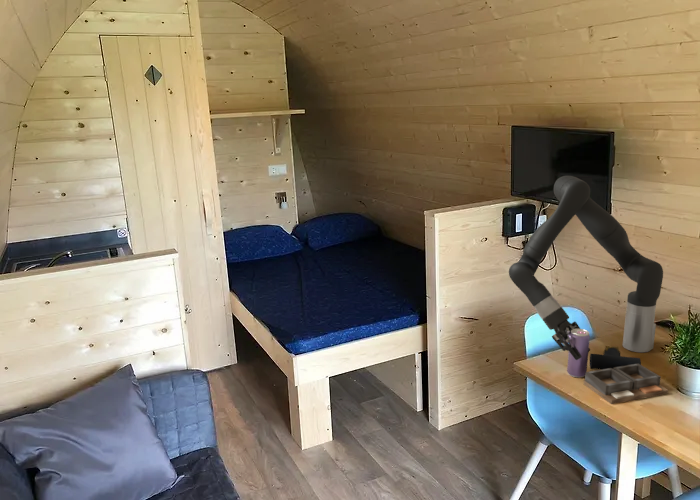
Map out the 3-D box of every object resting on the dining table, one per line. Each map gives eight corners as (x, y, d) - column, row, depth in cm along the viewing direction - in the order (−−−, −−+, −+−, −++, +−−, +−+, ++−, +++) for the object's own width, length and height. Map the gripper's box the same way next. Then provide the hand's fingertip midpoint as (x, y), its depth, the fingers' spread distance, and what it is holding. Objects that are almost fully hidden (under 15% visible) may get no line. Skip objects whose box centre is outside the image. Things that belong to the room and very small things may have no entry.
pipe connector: (588, 342, 204) (635, 346, 200) (587, 356, 206) (634, 360, 202) (591, 357, 194) (641, 361, 190) (590, 371, 195) (639, 376, 191)
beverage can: (584, 379, 189) (588, 336, 185) (565, 375, 192) (568, 333, 188) (587, 372, 194) (591, 330, 190) (569, 368, 197) (572, 326, 193)
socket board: (637, 374, 191) (638, 363, 190) (667, 393, 179) (669, 381, 178) (583, 384, 186) (584, 372, 185) (611, 404, 174) (612, 391, 173)
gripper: (549, 312, 187) (582, 357, 182) (569, 301, 197) (601, 343, 192) (532, 324, 192) (565, 367, 187) (553, 312, 202) (584, 353, 197)
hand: (583, 355), depth 190 cm, fingers closed on beverage can, 6 cm apart
